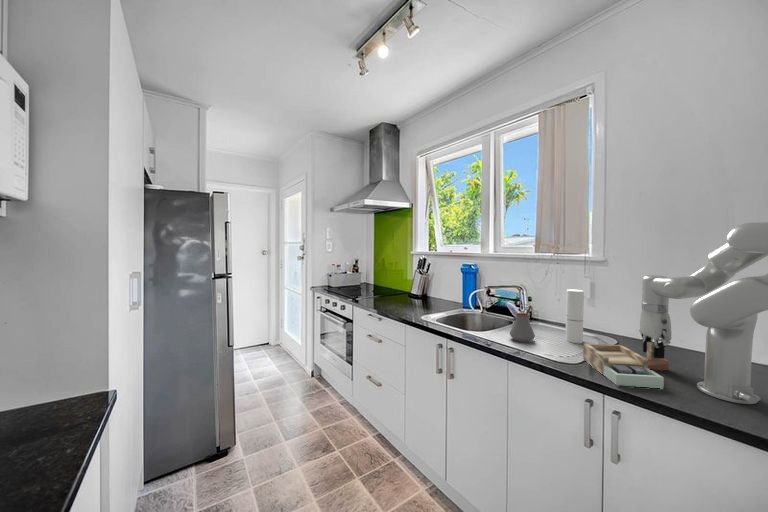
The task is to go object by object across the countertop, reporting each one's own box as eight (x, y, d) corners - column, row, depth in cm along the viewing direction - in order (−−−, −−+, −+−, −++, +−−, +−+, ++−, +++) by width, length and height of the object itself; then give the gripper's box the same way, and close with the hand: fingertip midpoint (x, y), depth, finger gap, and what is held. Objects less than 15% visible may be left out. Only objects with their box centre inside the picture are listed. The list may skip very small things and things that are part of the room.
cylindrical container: (577, 338, 149) (578, 289, 148) (585, 343, 142) (587, 291, 140) (562, 338, 149) (563, 289, 148) (570, 343, 142) (571, 291, 141)
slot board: (647, 379, 105) (648, 359, 105) (603, 376, 107) (603, 357, 107) (621, 362, 120) (621, 345, 119) (583, 360, 122) (583, 343, 122)
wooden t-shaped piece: (668, 370, 111) (669, 344, 111) (640, 369, 113) (641, 343, 113) (663, 368, 114) (664, 342, 113) (636, 366, 115) (637, 341, 115)
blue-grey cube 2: (624, 376, 105) (631, 381, 101) (611, 375, 106) (618, 381, 102) (624, 365, 105) (632, 370, 101) (612, 364, 106) (619, 369, 102)
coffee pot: (531, 345, 140) (531, 314, 139) (506, 340, 147) (506, 310, 146) (542, 334, 156) (543, 306, 155) (519, 330, 163) (520, 303, 162)
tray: (663, 389, 98) (663, 377, 97) (615, 386, 100) (616, 374, 100) (647, 379, 105) (647, 367, 105) (603, 376, 107) (603, 365, 107)
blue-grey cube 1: (641, 377, 104) (649, 383, 100) (628, 376, 105) (635, 382, 101) (641, 366, 104) (649, 371, 100) (628, 365, 105) (636, 370, 101)
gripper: (684, 313, 103) (682, 364, 104) (650, 303, 120) (648, 347, 121) (660, 313, 105) (658, 363, 105) (629, 303, 121) (627, 346, 122)
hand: (653, 354), depth 113 cm, fingers open, 4 cm apart
